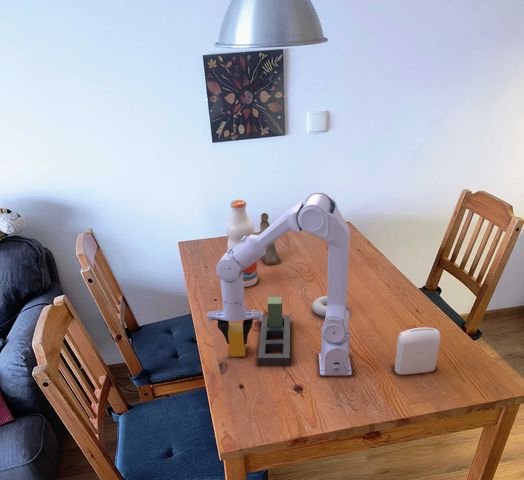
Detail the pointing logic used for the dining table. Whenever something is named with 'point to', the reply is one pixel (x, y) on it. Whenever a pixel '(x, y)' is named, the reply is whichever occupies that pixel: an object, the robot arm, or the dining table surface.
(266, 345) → the peg stand
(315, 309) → the donut
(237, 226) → the fruit juice
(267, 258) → the worn brown figurine
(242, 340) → the mustard peg
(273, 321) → the green peg
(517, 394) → the dining table surface
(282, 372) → the dining table surface
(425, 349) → the photo printer
